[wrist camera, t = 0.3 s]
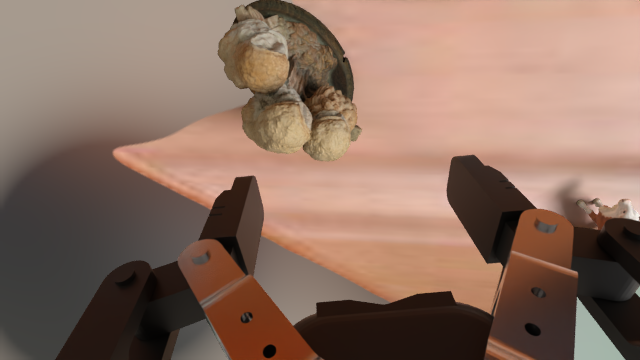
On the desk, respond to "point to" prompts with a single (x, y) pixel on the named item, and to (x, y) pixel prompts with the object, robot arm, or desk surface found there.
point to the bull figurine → (610, 211)
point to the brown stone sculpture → (291, 80)
